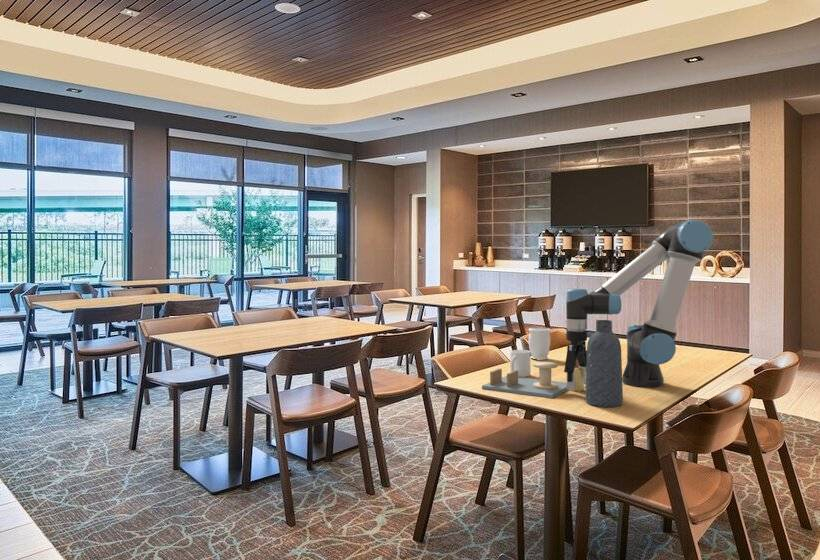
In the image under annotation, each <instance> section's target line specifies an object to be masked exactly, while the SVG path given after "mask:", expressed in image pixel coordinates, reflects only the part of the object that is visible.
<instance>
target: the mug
mask: <svg viewBox="0 0 820 560" xmlns="http://www.w3.org/2000/svg"><path fill="white" fill-rule="evenodd" d="M509 357H510V372H513V371H515V370H518V377H523V378H528V377H530V376H531V353H530V350H527V349H512V350H510V356H509ZM527 376H528V377H527Z"/></svg>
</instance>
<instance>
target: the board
mask: <svg viewBox="0 0 820 560" xmlns="http://www.w3.org/2000/svg"><path fill="white" fill-rule="evenodd" d="M558 365H559V364H558V363H556V362H552V361H537V362H536V361H535V362H533V363H532V366H533V367H535V368H538V369H539V373H538V375H539V376H538V377H539V378H529V377H518V370H515V371H513V372H511V371H510V372H508V373H506V375H505V376H502V373H503V369H502V368H497V369H494V370H492V371H489V375H490V376H489V382H487V383H485V384H483V385H482V386H481V389H483V390H488V389H490V390H489V391H496V392H503V391H504V393H510V392H512V393H511V394H519V395H527V396H533V397H534V396H535V397H541V398H548V399H549V398H550V399H554V398H555V397H557V396H559V395H561V394H562V393H564V392H566V391H568V390H567V381H554V380H552V369H555V368H558Z"/></svg>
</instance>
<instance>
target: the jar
mask: <svg viewBox="0 0 820 560" xmlns="http://www.w3.org/2000/svg"><path fill="white" fill-rule="evenodd" d="M528 332H529V334H528V347H529V351H530V359H531V358H533V359H547V360H549V357H548V355H549V352H550V346H551V335H550V332H551V328H547V327H531V328H528ZM533 359H532V360H533Z"/></svg>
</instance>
